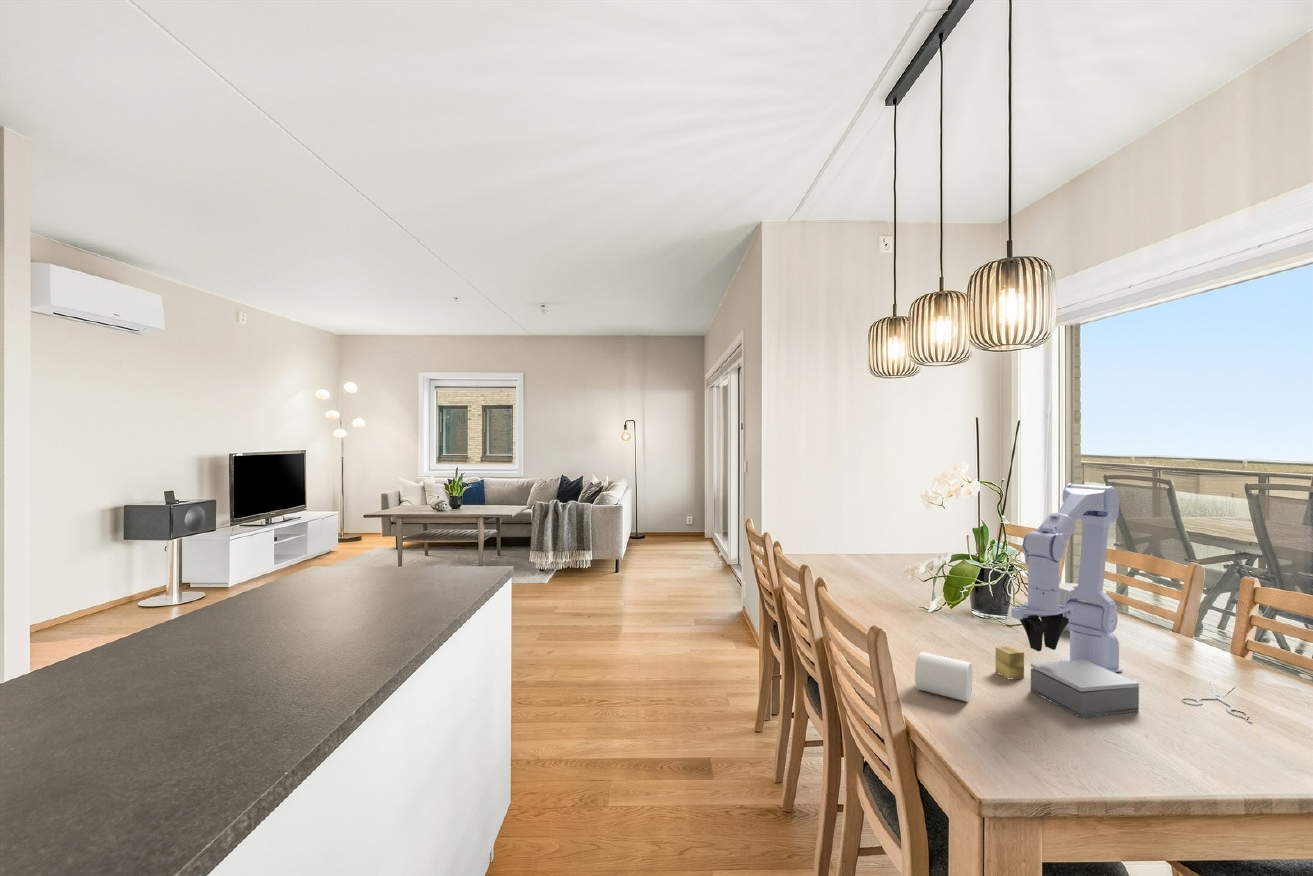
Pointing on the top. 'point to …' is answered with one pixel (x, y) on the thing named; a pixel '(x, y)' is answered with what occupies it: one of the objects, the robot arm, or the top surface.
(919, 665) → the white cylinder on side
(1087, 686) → the lid
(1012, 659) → the block
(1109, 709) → the box
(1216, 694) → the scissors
